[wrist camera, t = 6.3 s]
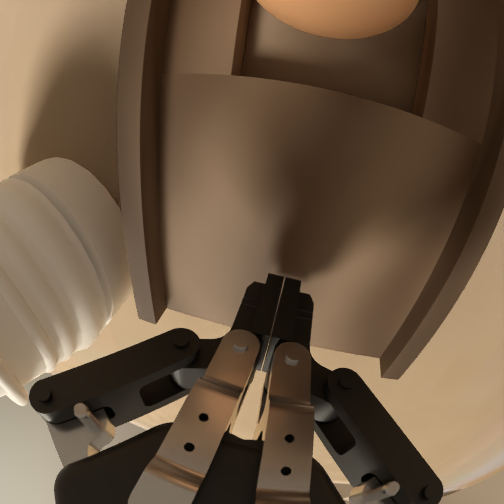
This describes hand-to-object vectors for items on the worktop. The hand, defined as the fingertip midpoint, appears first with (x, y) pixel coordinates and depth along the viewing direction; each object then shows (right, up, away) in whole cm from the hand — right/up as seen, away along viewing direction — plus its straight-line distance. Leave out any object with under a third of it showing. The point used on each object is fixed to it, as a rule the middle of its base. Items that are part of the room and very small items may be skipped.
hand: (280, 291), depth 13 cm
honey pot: (-15, +3, +6) cm, 16 cm away
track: (+2, +9, -3) cm, 10 cm away
